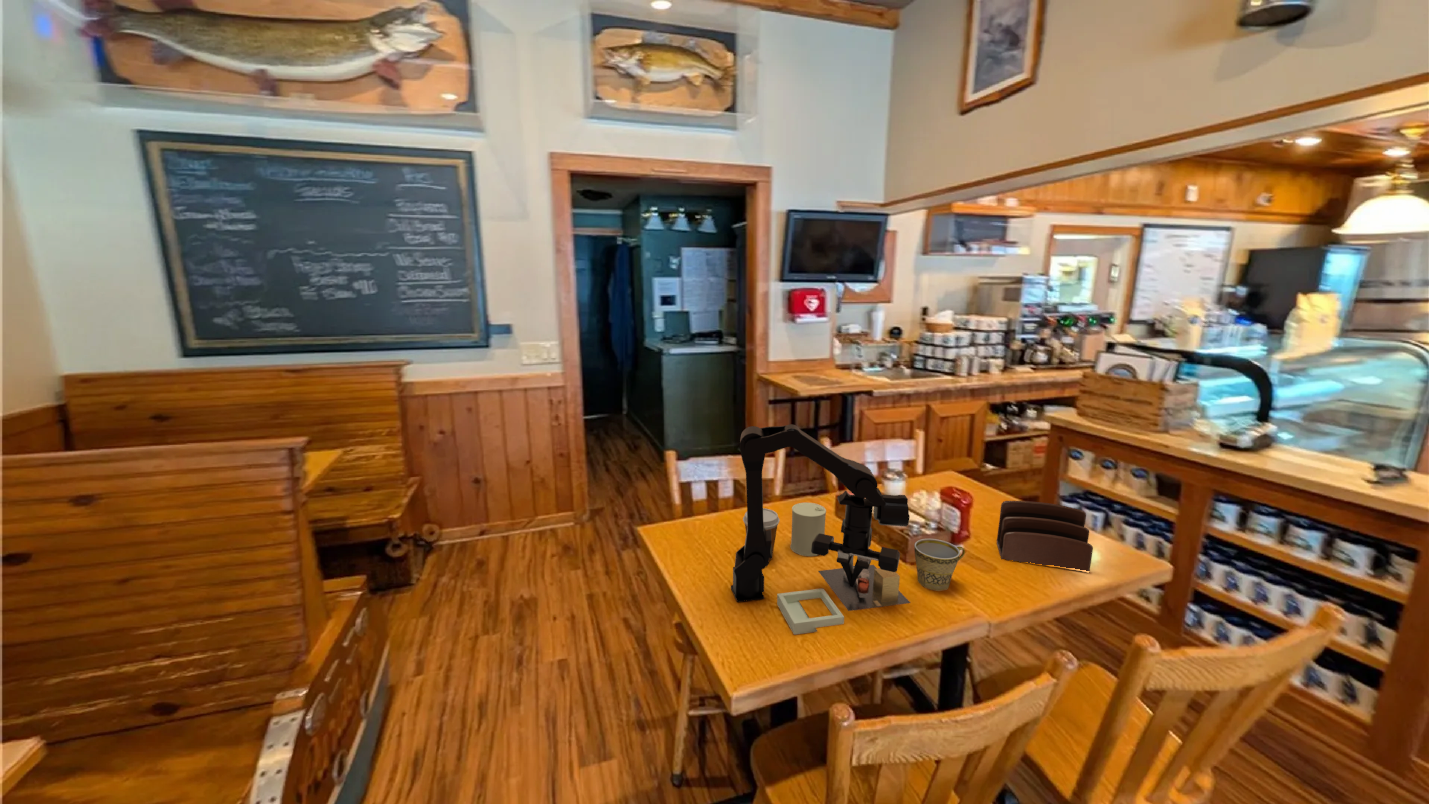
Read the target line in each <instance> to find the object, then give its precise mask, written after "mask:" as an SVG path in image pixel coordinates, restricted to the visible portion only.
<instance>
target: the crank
mask: <svg viewBox="0 0 1429 804" xmlns="http://www.w3.org/2000/svg"><path fill="white" fill-rule="evenodd" d="M854 567H855V565H853V571H854ZM844 578H845V579H846V580H848V579H847V576H846V573H845V571H844ZM855 585H856V588H857V591H858V594H859V597H860V598H867V593H868V589H869V571H868V570H866V569H863V570H862V572H861V573H860V574H859V576H858V577H857V579H856V581H855Z"/></svg>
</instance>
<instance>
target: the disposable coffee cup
mask: <svg viewBox="0 0 1429 804" xmlns="http://www.w3.org/2000/svg"><path fill="white" fill-rule="evenodd" d="M742 521H743V523H744V527H745V534H746V533H747V527H748V521H747V511H746V512H745V513H744V516H743V518H742ZM763 523H764V527H765V530H766V531H767V530H771V539H772V543H771V544H772V557H773V556H774V550H775V549H774V548H775V543H776V536H777V530H778V525H779V523H780V518H779V516H778V513H777V512H776V511H774V510H773V509H768V508H766V507H765V508H764V507H763ZM771 560H772V559H771V558H769V562H770V561H771Z"/></svg>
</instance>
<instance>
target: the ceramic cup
mask: <svg viewBox="0 0 1429 804" xmlns="http://www.w3.org/2000/svg"><path fill="white" fill-rule="evenodd" d="M913 546H914V548H913V549H914V558H915V564H916V572H917V583H919V584H920V585H921V586H922V587H924V588H925V589H927V590H931V591H937V592H941V591H946V590H948V589H949V587H950V584H951V581H952V577H953V575H954V572H955V569H956V567H957V565H958V562H959V561H961V560H962V558H963V557H964V556H965V553H966V550H965V548H964V547H962V546H956V545H954V544H953V543H950V542H948V541H946V540H943V539H942V540H941V539H938V538H922V539H919V540H917V541H916V542H914V545H913ZM961 551H962V553H961Z"/></svg>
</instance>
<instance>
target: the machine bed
mask: <svg viewBox="0 0 1429 804" xmlns="http://www.w3.org/2000/svg"><path fill="white" fill-rule="evenodd" d="M877 568H878V567H876V566H875V565H874V564H870V566H869V569H866V570H868V571H869V589H868V593H867V598H860V597H859V594H858V591H857V588H856V585H855V584H854V586H853V587H850V585H849V582H848V580H846V579H845V578H844V569H843V567H841V568H832V569H831V568H830V569H822V570H818V573H819V575H820V576H821V577H822V578H823V580H824V581H825V582H826V583H827V585H828V586H829V587H830V589H831V590H832V591H833V592H834V594H835V595H836V597H837V598H838V599H839V601H840V602H841V603H842V605H843V606H844V608H845V609H846V610H847V611H848V612H851V611H859V610H867V609H874V608H882V607H889V606H896V605H905V604H911V601H910V600H909V599H908V598H907V597H906V596H905V595H903V593H902V592H901V591H900V590H899V591H898V600H895V601H887V602H881V601H880V600H879V599H878V598H877V597H876V595H875V594H874V593H873V583H874V569H877Z"/></svg>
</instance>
